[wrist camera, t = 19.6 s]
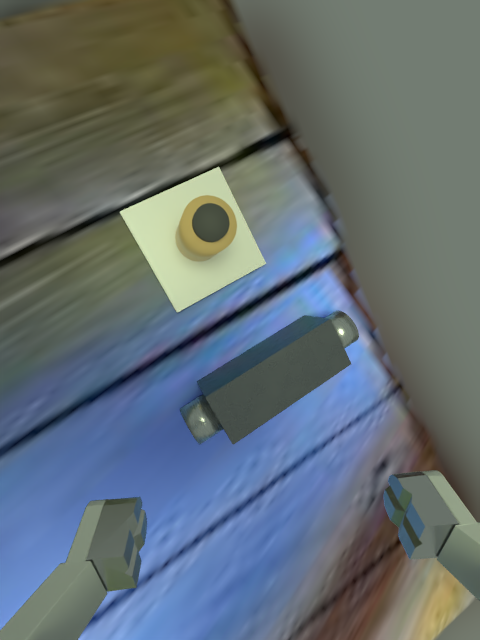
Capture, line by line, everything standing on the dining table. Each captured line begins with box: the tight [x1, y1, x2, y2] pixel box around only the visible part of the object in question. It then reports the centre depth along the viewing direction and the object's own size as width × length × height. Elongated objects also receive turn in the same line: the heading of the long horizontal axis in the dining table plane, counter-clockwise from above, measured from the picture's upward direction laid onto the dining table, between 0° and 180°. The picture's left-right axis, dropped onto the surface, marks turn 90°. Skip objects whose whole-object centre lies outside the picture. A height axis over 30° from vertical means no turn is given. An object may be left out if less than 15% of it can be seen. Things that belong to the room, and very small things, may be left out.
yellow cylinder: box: [175, 195, 237, 261], centre depth 30 cm, size 5×5×8 cm
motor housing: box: [180, 311, 359, 444], centre depth 36 cm, size 22×6×6 cm, turn 119°
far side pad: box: [120, 167, 266, 312], centre depth 35 cm, size 12×12×1 cm
